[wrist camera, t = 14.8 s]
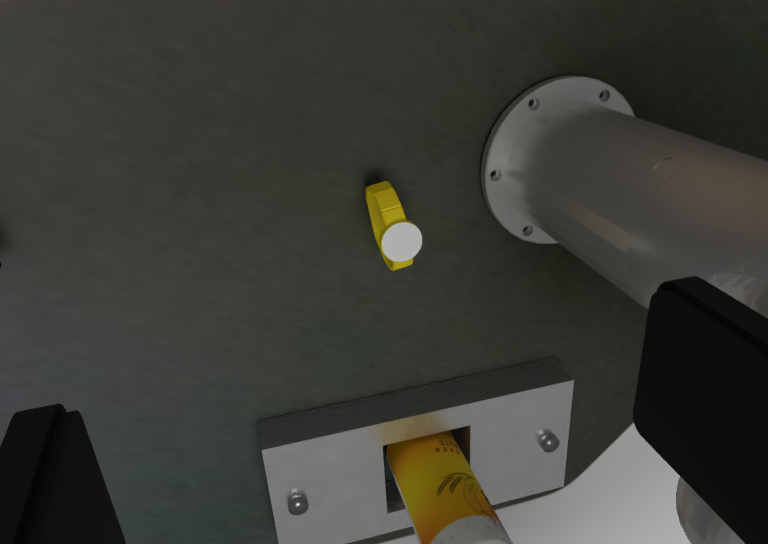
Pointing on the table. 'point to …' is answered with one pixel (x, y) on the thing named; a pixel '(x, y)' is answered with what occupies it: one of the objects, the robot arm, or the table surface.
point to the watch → (392, 226)
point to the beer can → (443, 492)
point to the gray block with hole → (407, 421)
